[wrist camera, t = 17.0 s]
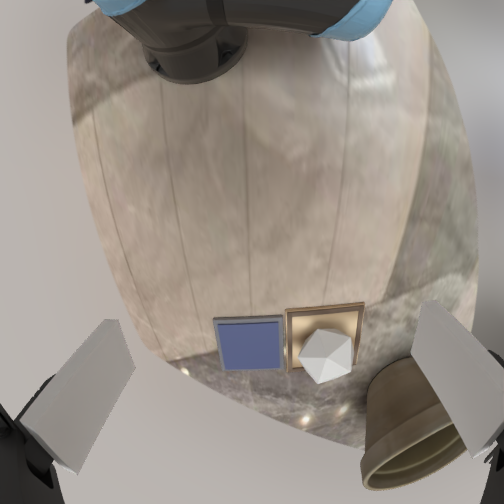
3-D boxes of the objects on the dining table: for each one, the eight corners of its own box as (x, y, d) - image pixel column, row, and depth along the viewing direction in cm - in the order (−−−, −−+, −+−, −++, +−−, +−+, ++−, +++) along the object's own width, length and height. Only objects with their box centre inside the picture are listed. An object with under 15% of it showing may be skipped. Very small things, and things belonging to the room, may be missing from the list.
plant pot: (357, 430, 52) (374, 501, 31) (326, 375, 46) (348, 471, 25) (445, 384, 47) (481, 444, 27) (439, 314, 41) (502, 383, 21)
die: (302, 364, 45) (343, 395, 38) (276, 355, 40) (322, 393, 32) (330, 325, 46) (373, 352, 38) (308, 309, 40) (359, 341, 33)
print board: (285, 309, 42) (285, 312, 41) (363, 302, 41) (365, 304, 40) (286, 369, 46) (286, 373, 45) (355, 362, 45) (356, 365, 44)
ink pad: (213, 317, 43) (212, 321, 42) (282, 314, 42) (282, 318, 41) (222, 368, 46) (221, 372, 45) (283, 366, 45) (284, 370, 44)
